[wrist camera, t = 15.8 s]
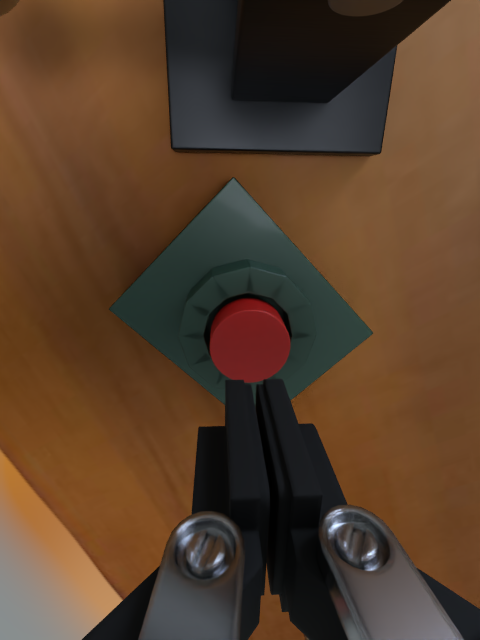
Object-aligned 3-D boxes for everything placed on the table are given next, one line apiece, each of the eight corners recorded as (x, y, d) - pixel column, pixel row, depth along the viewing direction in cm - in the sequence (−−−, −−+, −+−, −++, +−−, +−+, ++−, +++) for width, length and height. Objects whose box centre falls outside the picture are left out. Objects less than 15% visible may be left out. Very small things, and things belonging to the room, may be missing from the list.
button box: (120, 296, 19) (95, 322, 15) (232, 178, 17) (234, 174, 13) (251, 407, 22) (257, 451, 19) (358, 319, 20) (389, 347, 17)
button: (195, 332, 16) (192, 348, 15) (248, 281, 15) (251, 292, 14) (246, 377, 17) (248, 397, 16) (298, 332, 16) (307, 347, 15)
